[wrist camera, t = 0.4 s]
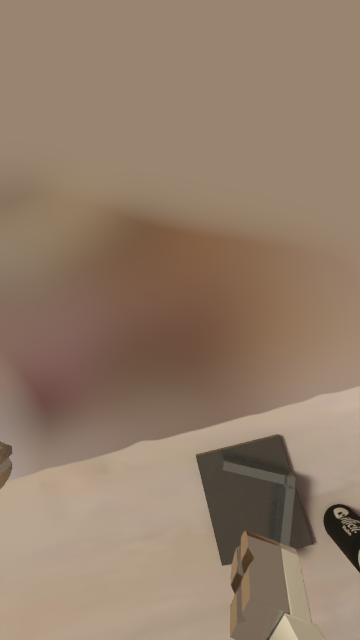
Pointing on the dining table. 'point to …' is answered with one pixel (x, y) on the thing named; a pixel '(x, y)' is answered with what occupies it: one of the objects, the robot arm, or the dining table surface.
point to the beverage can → (344, 531)
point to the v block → (252, 495)
